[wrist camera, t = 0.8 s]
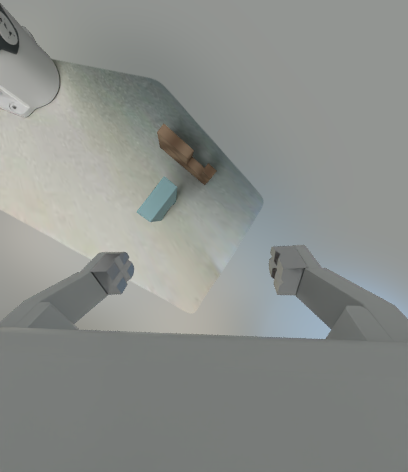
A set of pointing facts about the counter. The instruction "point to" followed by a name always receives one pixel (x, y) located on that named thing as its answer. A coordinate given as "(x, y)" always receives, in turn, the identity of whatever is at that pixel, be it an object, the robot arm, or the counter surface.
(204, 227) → the counter surface
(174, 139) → the notched walnut block
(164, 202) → the teal plate
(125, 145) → the counter surface
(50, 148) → the counter surface
